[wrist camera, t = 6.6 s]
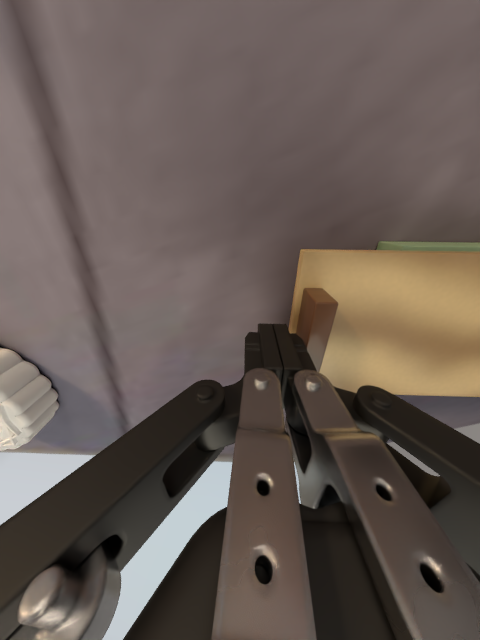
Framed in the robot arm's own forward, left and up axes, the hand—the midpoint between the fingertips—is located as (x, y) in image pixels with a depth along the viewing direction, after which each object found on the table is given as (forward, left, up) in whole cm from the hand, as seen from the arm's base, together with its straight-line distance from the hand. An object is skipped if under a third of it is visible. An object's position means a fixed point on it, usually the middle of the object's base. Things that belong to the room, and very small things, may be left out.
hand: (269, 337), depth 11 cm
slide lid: (0, +10, -1) cm, 10 cm away
